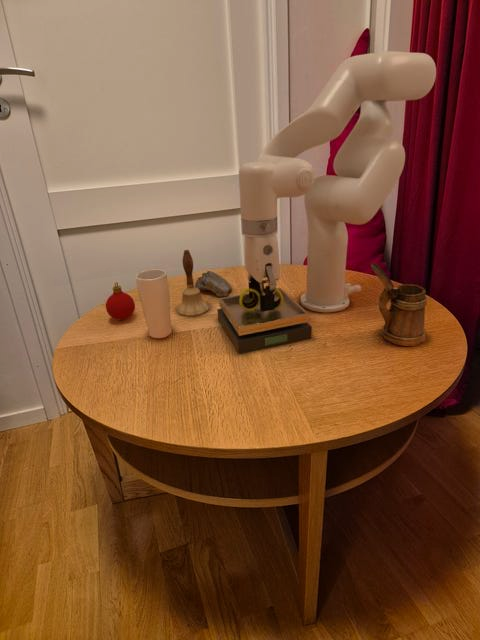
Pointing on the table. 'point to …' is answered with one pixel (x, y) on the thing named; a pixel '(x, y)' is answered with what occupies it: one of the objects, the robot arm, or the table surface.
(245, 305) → the opera glasses
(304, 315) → the scale pan
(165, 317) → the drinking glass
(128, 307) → the christmas ornament
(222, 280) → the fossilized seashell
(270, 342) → the scale
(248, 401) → the table surface
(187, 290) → the hand bell
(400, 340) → the wooden mug
